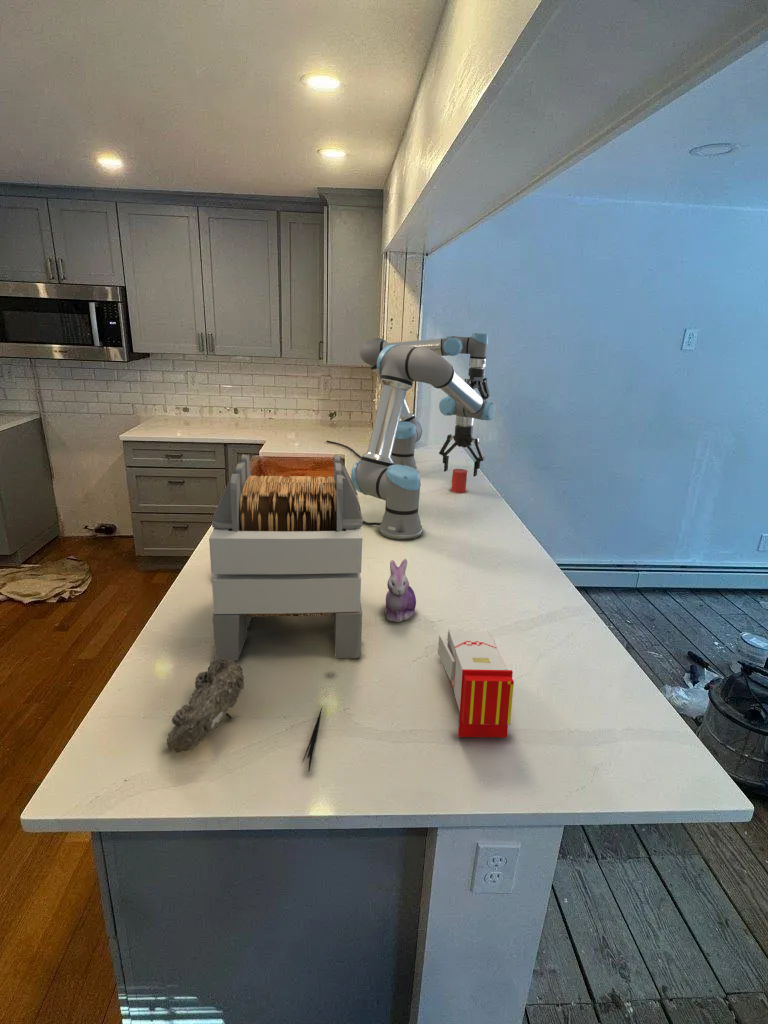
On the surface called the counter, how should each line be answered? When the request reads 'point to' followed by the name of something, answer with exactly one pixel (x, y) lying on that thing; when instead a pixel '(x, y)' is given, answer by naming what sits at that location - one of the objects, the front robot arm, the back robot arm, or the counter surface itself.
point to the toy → (478, 682)
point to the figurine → (399, 594)
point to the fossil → (206, 705)
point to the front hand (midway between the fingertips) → (460, 473)
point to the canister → (459, 480)
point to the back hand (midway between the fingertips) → (472, 413)
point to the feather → (313, 740)
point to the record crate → (286, 555)
